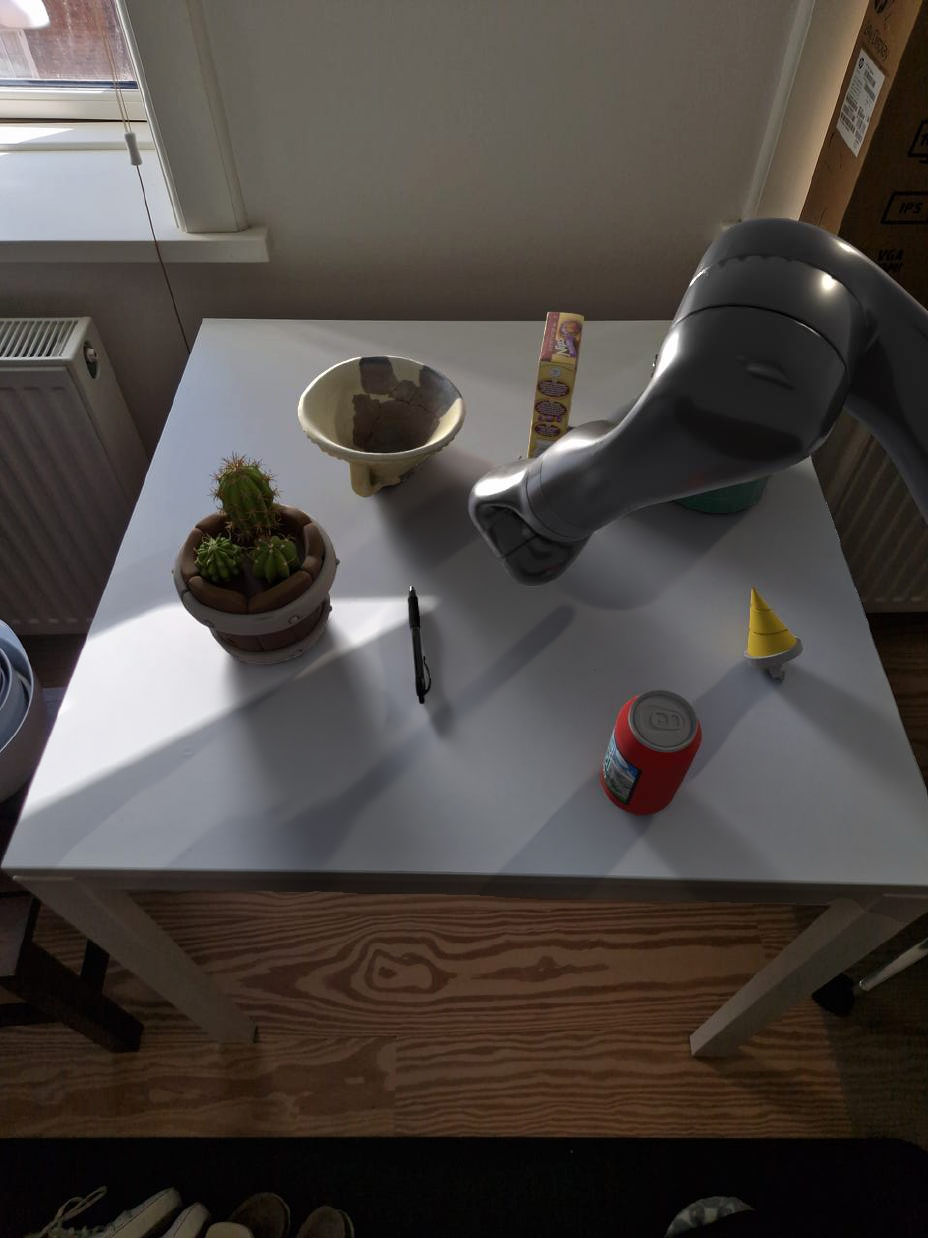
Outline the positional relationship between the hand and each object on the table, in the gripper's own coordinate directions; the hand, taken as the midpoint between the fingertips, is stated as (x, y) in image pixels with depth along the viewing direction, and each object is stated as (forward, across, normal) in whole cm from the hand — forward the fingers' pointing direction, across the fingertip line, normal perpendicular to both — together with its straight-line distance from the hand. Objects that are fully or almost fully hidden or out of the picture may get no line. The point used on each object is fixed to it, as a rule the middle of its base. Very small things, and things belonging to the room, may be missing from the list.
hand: (764, 355), depth 85 cm
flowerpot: (-51, +18, +17) cm, 56 cm away
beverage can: (-37, -19, +17) cm, 45 cm away
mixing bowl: (-1, +1, +17) cm, 17 cm away
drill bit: (-18, -18, +17) cm, 30 cm away
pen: (-41, +6, +17) cm, 45 cm away
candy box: (-11, +17, +17) cm, 27 cm away
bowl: (-28, +28, +17) cm, 42 cm away
